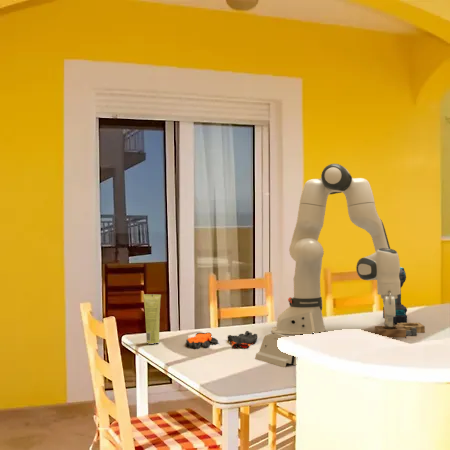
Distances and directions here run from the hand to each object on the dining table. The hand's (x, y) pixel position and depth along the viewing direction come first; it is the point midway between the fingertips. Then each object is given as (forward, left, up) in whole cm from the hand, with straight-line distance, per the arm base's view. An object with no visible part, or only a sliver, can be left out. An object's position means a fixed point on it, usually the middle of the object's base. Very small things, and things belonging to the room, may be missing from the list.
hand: (390, 324), depth 245 cm
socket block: (0, 0, -4) cm, 4 cm away
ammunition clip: (+10, +45, -4) cm, 46 cm away
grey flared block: (-45, -40, -5) cm, 60 cm away
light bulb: (-1, 0, -4) cm, 4 cm away
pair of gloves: (-66, -6, -5) cm, 67 cm away
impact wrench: (+9, +30, -4) cm, 31 cm away
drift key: (+5, 0, -4) cm, 7 cm away
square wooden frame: (+10, +9, -4) cm, 14 cm away
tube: (-93, -6, -4) cm, 93 cm away
